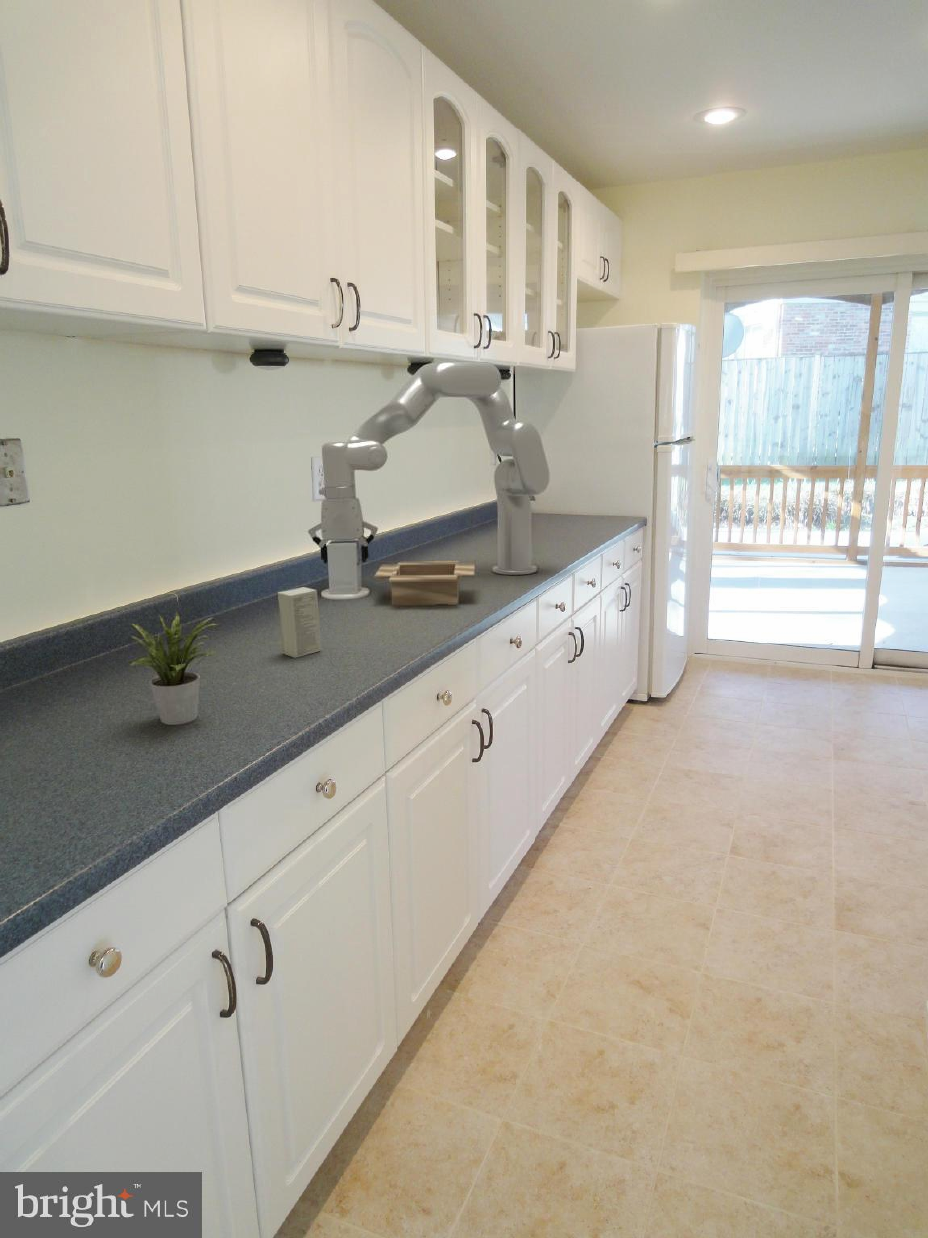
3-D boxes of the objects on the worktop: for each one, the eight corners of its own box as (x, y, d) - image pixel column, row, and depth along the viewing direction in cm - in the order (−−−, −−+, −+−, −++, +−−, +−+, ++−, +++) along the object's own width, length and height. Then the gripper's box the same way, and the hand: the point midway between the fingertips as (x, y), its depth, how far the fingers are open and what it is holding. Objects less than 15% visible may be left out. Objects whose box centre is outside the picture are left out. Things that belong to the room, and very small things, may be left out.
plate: (326, 589, 211) (326, 586, 211) (372, 589, 211) (371, 586, 211) (317, 599, 200) (317, 596, 199) (365, 599, 199) (365, 596, 199)
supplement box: (358, 594, 201) (355, 543, 198) (328, 594, 202) (325, 544, 199) (362, 588, 209) (360, 539, 206) (334, 588, 209) (331, 539, 206)
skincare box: (308, 647, 159) (304, 586, 156) (322, 651, 155) (318, 589, 152) (281, 654, 154) (276, 591, 151) (294, 658, 151) (289, 595, 148)
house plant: (246, 724, 119) (236, 616, 115) (147, 746, 112) (133, 631, 108) (217, 697, 131) (207, 599, 127) (126, 715, 123) (113, 611, 119)
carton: (384, 588, 212) (383, 561, 210) (475, 587, 211) (474, 560, 209) (373, 609, 189) (371, 579, 187) (474, 608, 188) (474, 578, 187)
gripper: (302, 496, 196) (308, 565, 200) (373, 493, 195) (377, 563, 200) (308, 492, 203) (314, 560, 207) (377, 490, 203) (381, 558, 207)
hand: (345, 561), depth 203 cm, fingers open, 9 cm apart
